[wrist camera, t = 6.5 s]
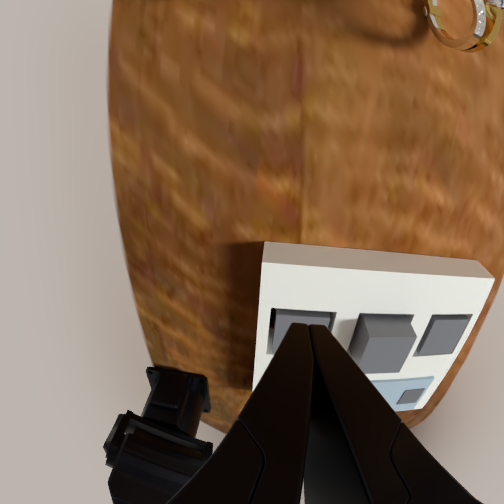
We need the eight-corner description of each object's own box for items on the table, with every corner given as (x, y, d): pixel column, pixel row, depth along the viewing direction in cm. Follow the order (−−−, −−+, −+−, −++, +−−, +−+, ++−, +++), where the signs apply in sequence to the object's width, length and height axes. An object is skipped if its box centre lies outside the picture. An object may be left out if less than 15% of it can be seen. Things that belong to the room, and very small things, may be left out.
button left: (317, 330, 23) (320, 355, 20) (273, 327, 23) (271, 352, 21) (325, 294, 21) (330, 317, 19) (277, 290, 22) (276, 314, 19)
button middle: (390, 347, 21) (399, 372, 19) (349, 347, 21) (355, 373, 19) (405, 312, 19) (417, 336, 17) (361, 310, 20) (369, 337, 17)
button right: (440, 331, 22) (451, 352, 20) (408, 332, 22) (418, 354, 20) (455, 299, 21) (468, 319, 18) (422, 299, 21) (435, 320, 18)
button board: (415, 387, 26) (423, 410, 23) (253, 387, 28) (250, 414, 24) (477, 260, 19) (497, 281, 16) (264, 241, 20) (261, 265, 17)
